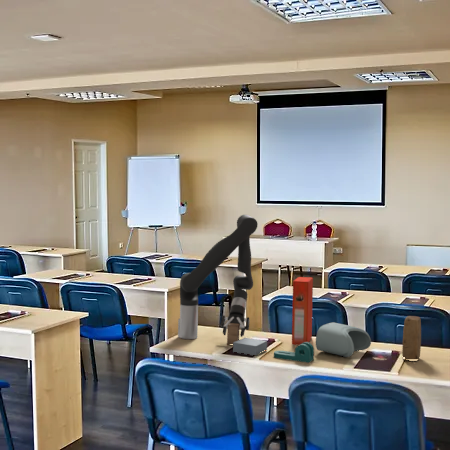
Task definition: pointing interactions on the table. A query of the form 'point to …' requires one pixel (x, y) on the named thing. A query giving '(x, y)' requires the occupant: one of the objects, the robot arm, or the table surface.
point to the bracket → (298, 353)
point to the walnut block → (232, 333)
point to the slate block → (249, 346)
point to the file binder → (302, 310)
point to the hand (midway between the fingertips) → (232, 335)
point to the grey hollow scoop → (341, 339)
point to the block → (412, 337)
